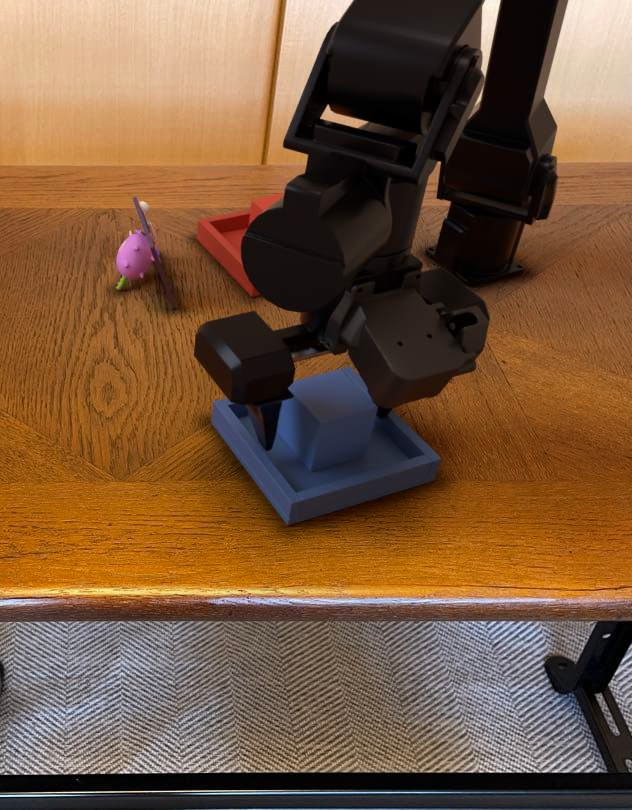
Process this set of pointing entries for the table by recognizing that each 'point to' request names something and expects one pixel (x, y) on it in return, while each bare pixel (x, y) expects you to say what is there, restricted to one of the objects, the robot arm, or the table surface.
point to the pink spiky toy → (140, 253)
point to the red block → (262, 205)
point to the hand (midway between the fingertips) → (323, 430)
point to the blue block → (327, 420)
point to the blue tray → (336, 485)
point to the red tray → (227, 243)
